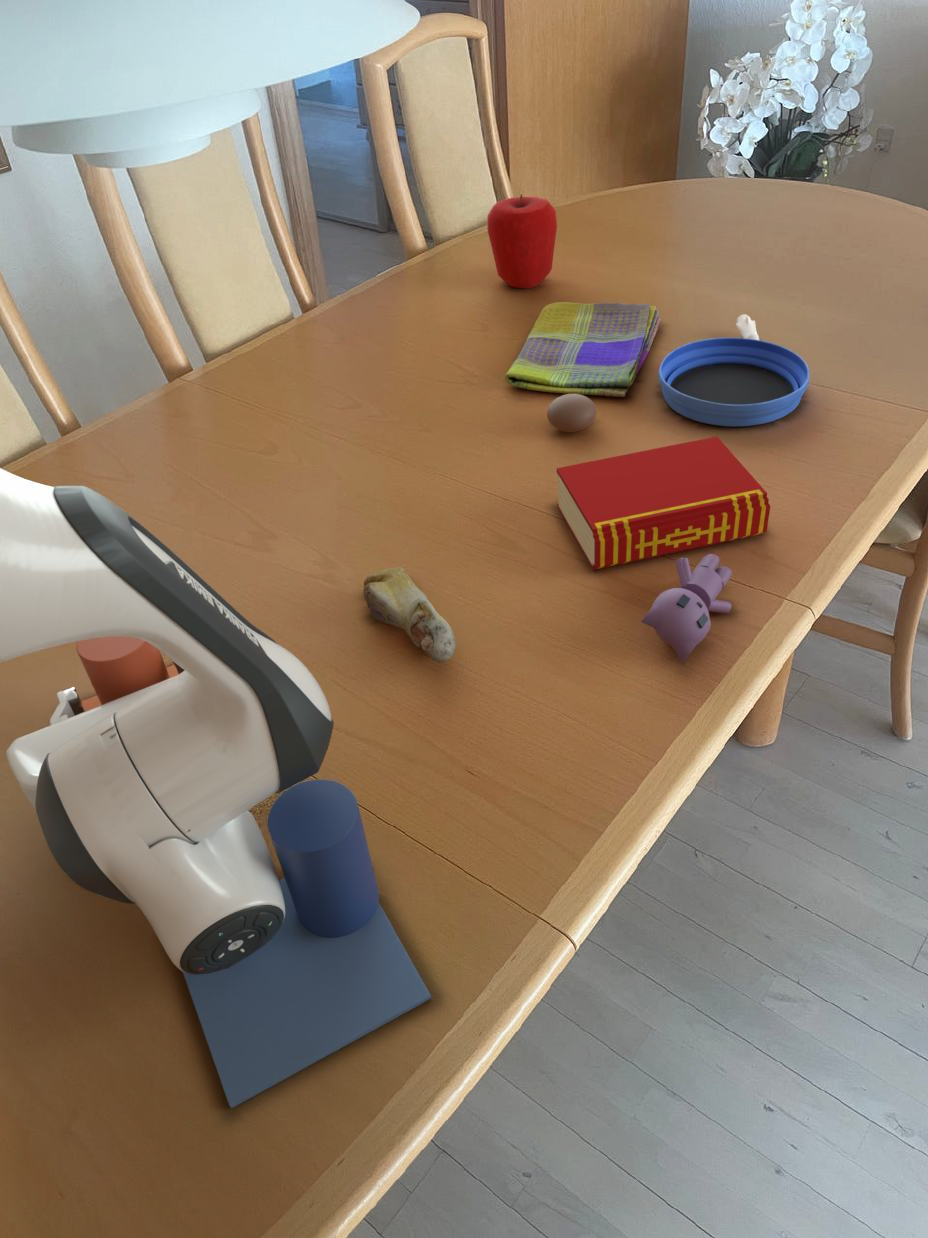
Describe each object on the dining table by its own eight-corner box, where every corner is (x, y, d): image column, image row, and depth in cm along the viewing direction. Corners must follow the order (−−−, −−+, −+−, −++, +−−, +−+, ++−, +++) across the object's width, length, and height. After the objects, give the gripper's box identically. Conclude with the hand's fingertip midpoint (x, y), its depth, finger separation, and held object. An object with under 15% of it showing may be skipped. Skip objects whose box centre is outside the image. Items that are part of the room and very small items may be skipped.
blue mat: (231, 1109, 60) (229, 1106, 60) (170, 935, 70) (168, 932, 70) (431, 999, 65) (430, 995, 65) (348, 850, 75) (347, 846, 74)
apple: (563, 270, 158) (562, 182, 149) (549, 295, 151) (547, 204, 142) (500, 268, 161) (495, 182, 152) (483, 293, 153) (477, 204, 145)
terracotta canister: (123, 756, 83) (84, 671, 77) (107, 713, 88) (69, 630, 81) (191, 728, 85) (158, 643, 79) (172, 687, 89) (139, 603, 83)
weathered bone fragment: (344, 584, 96) (402, 655, 84) (385, 547, 96) (449, 613, 84) (373, 616, 99) (433, 689, 87) (413, 580, 99) (478, 649, 88)
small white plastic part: (729, 349, 132) (731, 327, 130) (736, 330, 136) (738, 308, 134) (756, 351, 131) (759, 329, 129) (762, 332, 135) (765, 310, 133)
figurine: (706, 530, 91) (651, 603, 84) (757, 582, 91) (707, 659, 84) (670, 557, 95) (615, 628, 88) (719, 607, 96) (669, 682, 88)
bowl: (643, 422, 119) (644, 395, 117) (673, 356, 132) (675, 331, 130) (796, 438, 114) (801, 411, 111) (813, 368, 126) (817, 342, 124)
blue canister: (314, 952, 68) (286, 867, 61) (284, 889, 72) (254, 802, 65) (392, 913, 70) (372, 825, 63) (358, 853, 74) (336, 765, 67)
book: (595, 575, 97) (596, 534, 94) (557, 507, 107) (556, 468, 104) (765, 538, 100) (771, 497, 96) (713, 475, 109) (716, 436, 106)
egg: (567, 410, 123) (566, 381, 120) (605, 423, 120) (606, 393, 117) (537, 431, 120) (536, 401, 117) (576, 445, 117) (576, 414, 114)
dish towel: (498, 390, 129) (496, 371, 127) (545, 313, 146) (544, 295, 144) (630, 401, 124) (631, 381, 122) (662, 320, 141) (663, 301, 139)
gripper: (290, 696, 74) (233, 600, 83) (14, 812, 67) (-14, 693, 77) (305, 752, 78) (249, 654, 88) (46, 866, 71) (16, 747, 81)
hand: (124, 673), depth 82 cm, fingers open, 8 cm apart
